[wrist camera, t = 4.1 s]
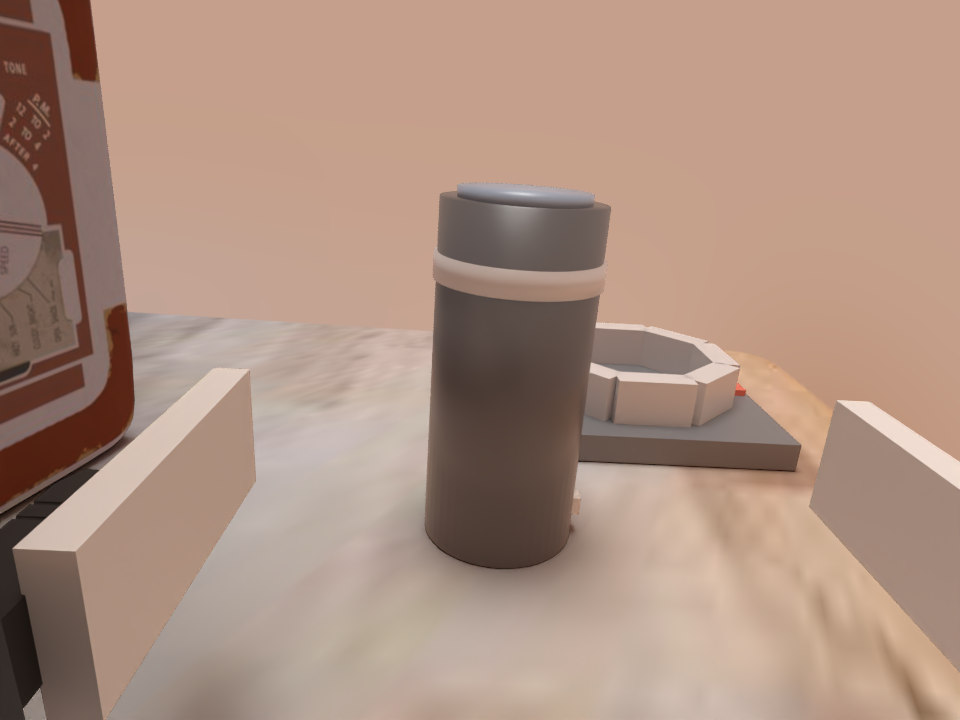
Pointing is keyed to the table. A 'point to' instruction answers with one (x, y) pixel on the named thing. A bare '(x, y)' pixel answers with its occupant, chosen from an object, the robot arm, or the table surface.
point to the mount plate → (674, 405)
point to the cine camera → (57, 253)
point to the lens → (511, 367)
